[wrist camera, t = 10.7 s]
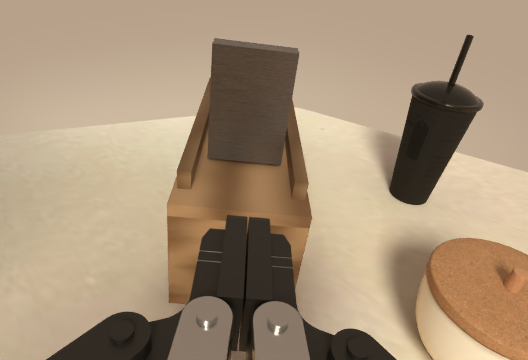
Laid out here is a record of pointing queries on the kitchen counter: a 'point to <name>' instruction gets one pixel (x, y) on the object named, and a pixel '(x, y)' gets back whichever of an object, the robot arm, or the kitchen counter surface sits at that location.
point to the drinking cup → (432, 133)
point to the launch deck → (232, 199)
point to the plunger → (250, 100)
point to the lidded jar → (474, 302)
